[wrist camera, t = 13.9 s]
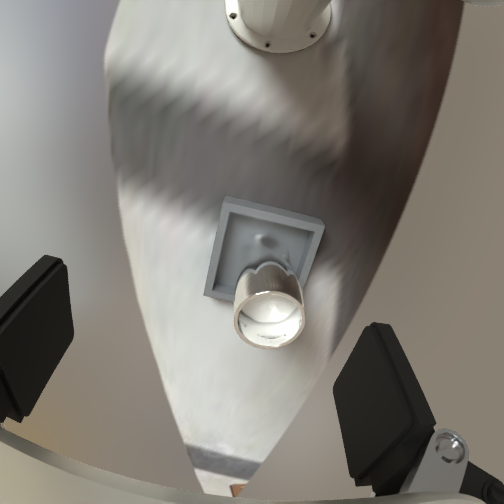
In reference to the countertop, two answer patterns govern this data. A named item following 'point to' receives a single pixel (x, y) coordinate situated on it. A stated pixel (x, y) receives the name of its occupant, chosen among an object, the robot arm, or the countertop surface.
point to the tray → (252, 223)
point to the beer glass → (267, 295)
